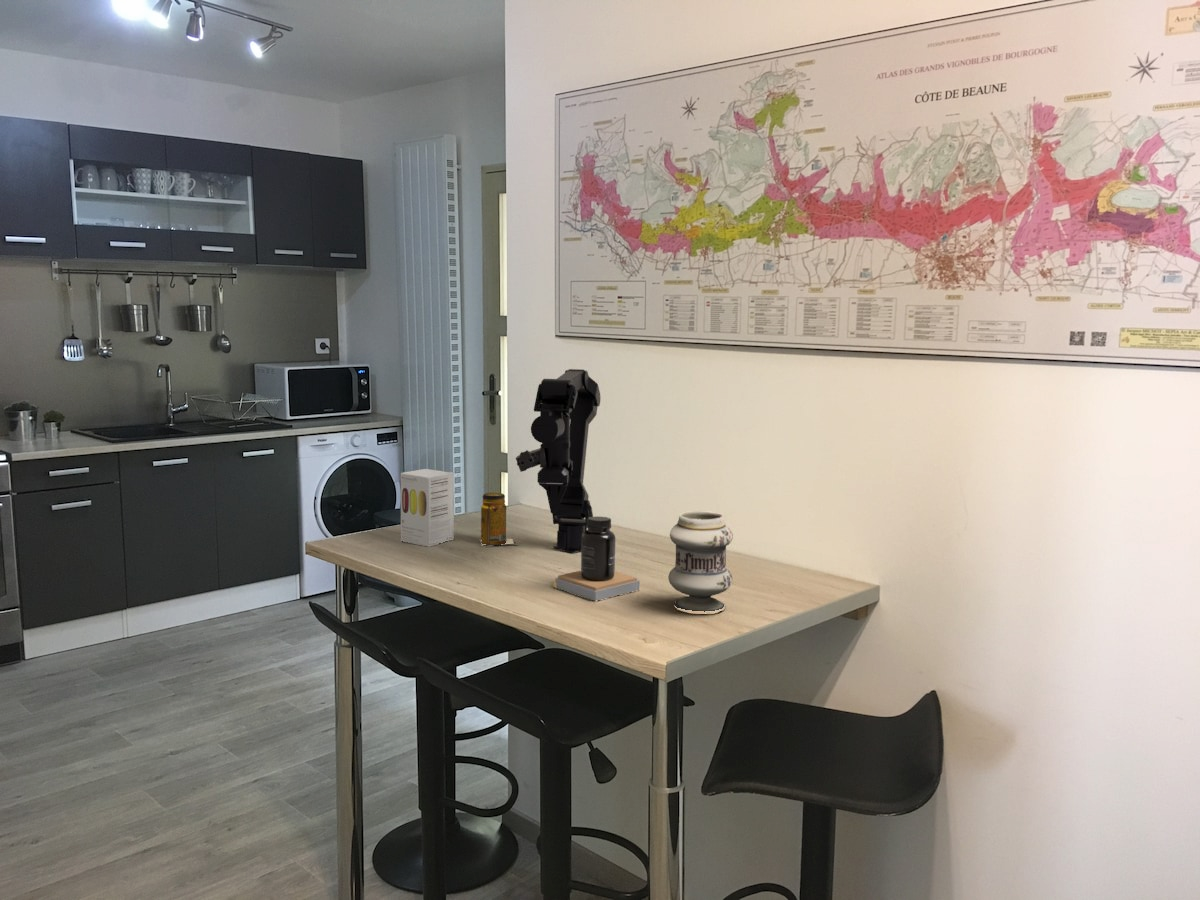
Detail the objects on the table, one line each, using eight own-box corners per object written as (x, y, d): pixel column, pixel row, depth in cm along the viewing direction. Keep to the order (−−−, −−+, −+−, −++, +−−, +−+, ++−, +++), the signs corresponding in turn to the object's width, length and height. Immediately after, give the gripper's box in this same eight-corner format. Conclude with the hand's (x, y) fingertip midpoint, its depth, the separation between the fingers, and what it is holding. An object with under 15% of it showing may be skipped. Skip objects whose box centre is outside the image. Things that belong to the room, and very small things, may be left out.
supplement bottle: (619, 580, 185) (620, 521, 184) (586, 582, 183) (587, 523, 182) (608, 571, 192) (609, 514, 190) (576, 573, 190) (577, 515, 188)
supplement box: (399, 541, 225) (398, 472, 222) (425, 534, 232) (425, 467, 230) (429, 547, 220) (429, 476, 217) (455, 540, 227) (455, 471, 225)
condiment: (477, 540, 228) (477, 491, 226) (512, 538, 230) (512, 490, 228) (481, 547, 221) (482, 497, 219) (517, 545, 223) (517, 496, 221)
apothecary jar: (668, 596, 184) (671, 506, 182) (729, 599, 183) (733, 509, 181) (666, 615, 172) (669, 519, 170) (732, 618, 171) (736, 522, 169)
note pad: (597, 577, 197) (597, 565, 197) (639, 590, 188) (639, 577, 188) (553, 587, 189) (553, 575, 188) (595, 601, 180) (595, 588, 179)
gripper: (523, 431, 209) (523, 500, 212) (513, 442, 191) (512, 517, 193) (573, 432, 209) (572, 501, 211) (567, 443, 191) (566, 518, 193)
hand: (555, 509), depth 202 cm, fingers open, 9 cm apart
